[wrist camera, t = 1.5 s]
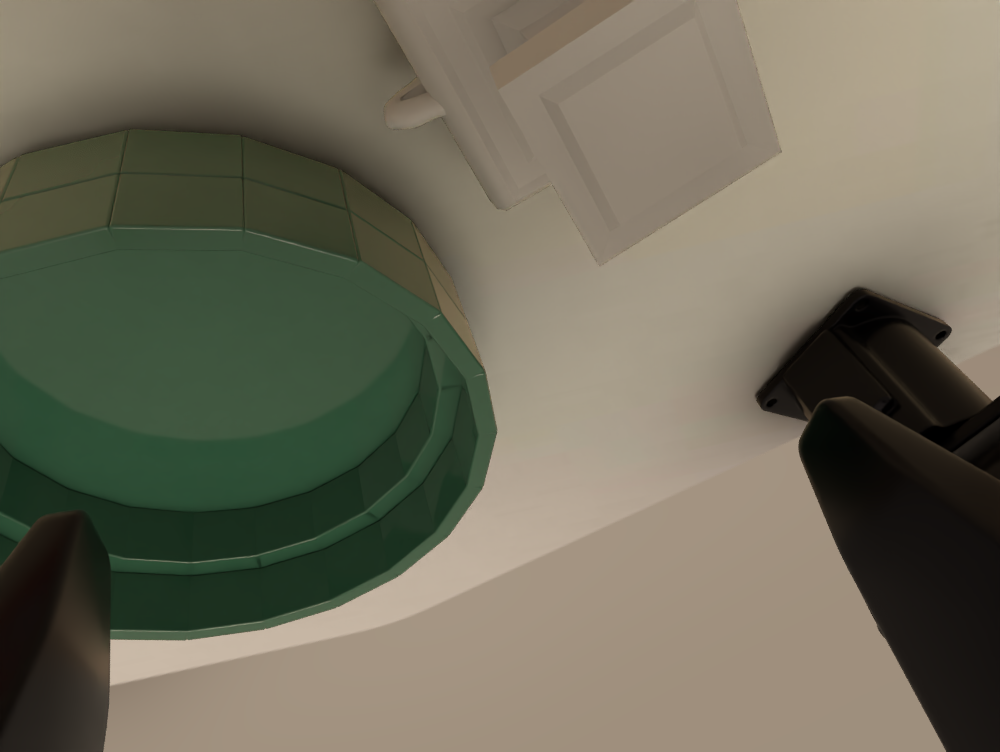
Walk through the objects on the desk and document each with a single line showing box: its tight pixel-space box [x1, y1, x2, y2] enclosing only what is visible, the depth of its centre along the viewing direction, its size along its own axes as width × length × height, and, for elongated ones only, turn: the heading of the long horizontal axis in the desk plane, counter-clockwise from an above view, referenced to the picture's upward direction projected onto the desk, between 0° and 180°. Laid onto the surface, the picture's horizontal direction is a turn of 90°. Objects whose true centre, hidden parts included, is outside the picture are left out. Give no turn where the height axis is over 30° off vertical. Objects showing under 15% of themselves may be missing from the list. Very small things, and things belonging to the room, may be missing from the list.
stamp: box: [373, 0, 782, 267], centre depth 16 cm, size 9×7×8 cm
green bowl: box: [0, 129, 497, 640], centre depth 22 cm, size 16×16×5 cm
